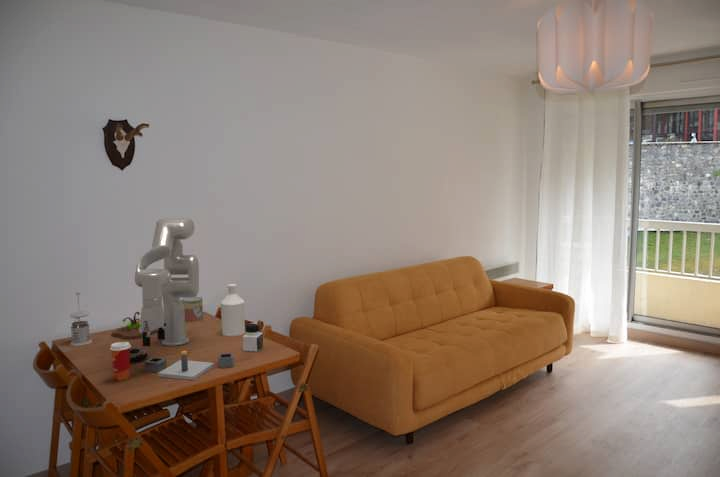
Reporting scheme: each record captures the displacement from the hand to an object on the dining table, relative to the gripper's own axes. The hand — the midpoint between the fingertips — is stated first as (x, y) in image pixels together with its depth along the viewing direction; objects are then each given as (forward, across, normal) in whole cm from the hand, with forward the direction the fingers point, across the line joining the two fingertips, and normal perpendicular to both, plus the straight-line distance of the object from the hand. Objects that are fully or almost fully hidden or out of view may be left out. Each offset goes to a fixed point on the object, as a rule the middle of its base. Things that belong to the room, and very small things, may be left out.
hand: (154, 342), depth 225 cm
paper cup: (+12, +11, -7) cm, 18 cm away
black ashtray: (+12, -9, -17) cm, 23 cm away
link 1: (+12, -1, 0) cm, 12 cm away
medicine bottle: (+11, -35, +28) cm, 46 cm away
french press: (+11, -24, -58) cm, 64 cm away
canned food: (+10, -73, -27) cm, 78 cm away
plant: (+11, -43, -42) cm, 61 cm away
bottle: (+10, -56, +7) cm, 57 cm away
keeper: (+12, -2, +14) cm, 18 cm away
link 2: (+12, -13, +26) cm, 31 cm away
